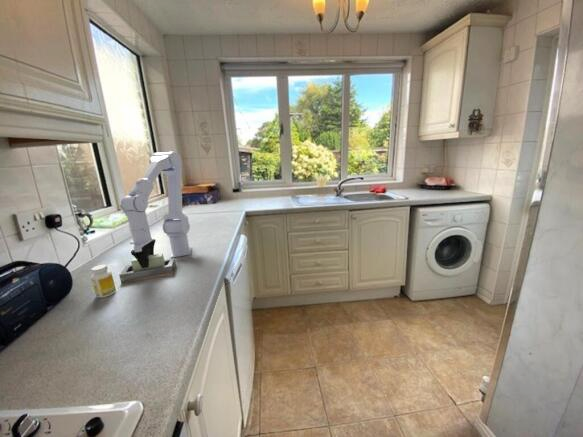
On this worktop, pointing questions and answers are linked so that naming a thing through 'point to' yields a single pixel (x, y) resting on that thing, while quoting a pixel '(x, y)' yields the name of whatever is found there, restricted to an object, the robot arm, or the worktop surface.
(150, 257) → the door panel
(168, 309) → the worktop surface
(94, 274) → the supplement bottle
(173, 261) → the frame
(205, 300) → the worktop surface
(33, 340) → the worktop surface
